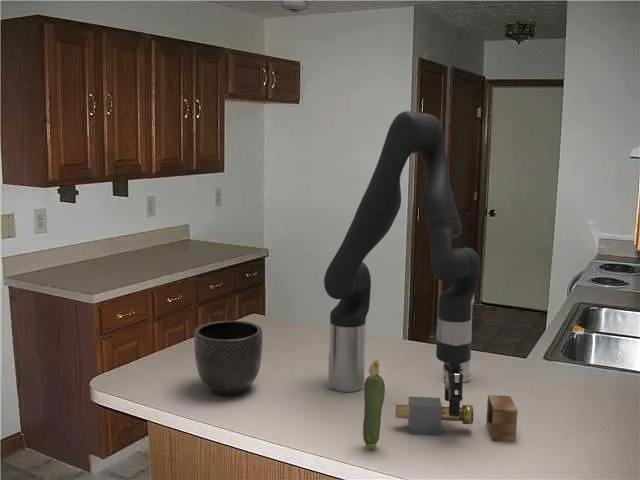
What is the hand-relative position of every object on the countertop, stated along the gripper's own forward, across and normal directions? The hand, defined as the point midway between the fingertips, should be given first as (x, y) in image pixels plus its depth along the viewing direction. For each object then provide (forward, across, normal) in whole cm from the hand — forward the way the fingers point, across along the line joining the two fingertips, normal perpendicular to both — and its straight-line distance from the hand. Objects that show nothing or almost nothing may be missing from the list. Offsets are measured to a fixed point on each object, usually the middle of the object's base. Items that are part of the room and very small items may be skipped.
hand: (451, 408), depth 152 cm
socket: (+6, 0, +11) cm, 12 cm away
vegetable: (+6, +10, -18) cm, 21 cm away
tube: (+3, 0, -4) cm, 5 cm away
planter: (+5, -18, -54) cm, 58 cm away
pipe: (+5, -32, +6) cm, 33 cm away
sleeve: (+5, 0, -6) cm, 8 cm away
